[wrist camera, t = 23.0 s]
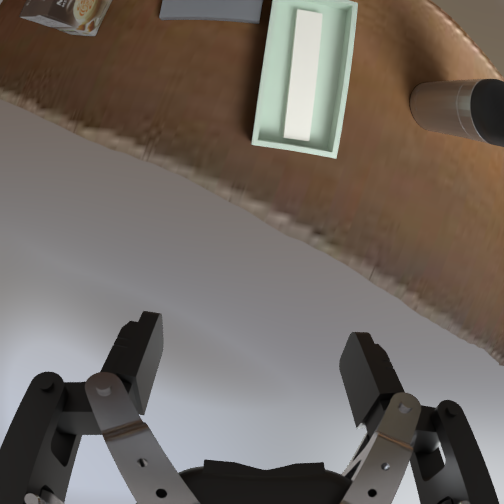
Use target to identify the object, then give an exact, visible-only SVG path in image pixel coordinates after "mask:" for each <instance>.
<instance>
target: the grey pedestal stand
mask: <svg viewBox="0 0 504 504" xmlns="http://www.w3.org/2000/svg"><path fill="white" fill-rule="evenodd" d="M262 2H263V0H163V2H162V6H161V11H160V16H159V18H160V19H161V20H220V21H234V22H245V23H255V24H259V21H260V15H261V8H262Z"/></svg>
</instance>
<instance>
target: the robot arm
mask: <svg viewBox="0 0 504 504" xmlns="http://www.w3.org/2000/svg"><path fill="white" fill-rule="evenodd" d="M410 108H411V112H412V115H413V117H414V119H415V121H416V122H417V123H418V124H419V125H420V126H421V127H422V128H424V129H426V130H428V131H433V132H439V133H444V134H449V135H454V136H459V137H463V138H468V139H472V140H477V141H481V142H485V143H489V144H493V145H497V146H502V147H504V82H503V81H500V80H497V79H473V80H452V81H438V82H427V83H422V84H419V85H418V86H416V87H415V89H414V90H413V92H412V94H411V98H410ZM162 352H163V325H162V315H161V314H160V313H153V312H148V311H144V312H143V313H142V315H141V317H140V319H139V321H138V322H134V321H130V322H129V323H127V324H126V325H125V326H124V327H122V329H121V331H120V333H119V335H118V337H117V339H116V341H115V343H114V346H113V347H112V349H111V351H110V353H109V355H108V357H107V359H106V361H105V363H104V365H103V367H102V370H101V371H100V372H99V373H96V374H94V375H92V376H91V377H90V378H88V380H87V381H86V382H67V383H66V382H63V379H62V378H61V377H60V376H59V375H58V374H56V373H54V372H44V373H41V374H38V375H37V376H35V377H34V379H33V380H32V381H31V384H30V385H29V387H28V389H27V391H26V393H25V395H24V397H23V399H22V401H21V403H20V405H19V407H18V410H17V412H16V414H15V416H14V418H13V420H12V423H11V425H10V427H9V429H8V432H7V434H6V436H5V439H4V441H3V444H2V446H1V448H0V504H64V501H65V496H66V492H67V488H68V484H69V480H70V476H71V472H72V468H73V465H74V461H75V457H76V454H77V450H78V447H79V444H80V440H81V437H82V435H103V437H104V440H105V442H106V444H107V446H108V449H109V451H110V453H111V455H112V457H113V459H114V461H115V463H116V465H117V467H118V469H119V471H120V473H121V475H122V476H123V478H124V480H125V482H126V484H127V486H128V488H129V489H130V491H131V493H132V495H133V496H134V498H135V500H136V501H137V503H136V504H391V503H392V501H393V499H394V496H395V494H396V492H397V490H398V487H399V485H400V483H401V480H402V478H403V476H404V473H405V471H406V468H407V466H408V463H409V460H410V463H411V467H412V470H413V474H414V478H415V482H416V486H417V490H418V494H419V498H420V503H421V504H499V502H498V498H497V495H496V492H495V489H494V486H493V484H492V481H491V478H490V475H489V472H488V469H487V467H486V464H485V461H484V459H483V456H482V454H481V451H480V449H479V446H478V444H477V441H476V439H475V437H474V435H473V432H472V430H471V428H470V425H469V423H468V421H467V419H466V416H465V414H464V412H463V410H462V408H461V407H460V406H459V405H458V404H457V403H455V402H454V401H451V400H444V401H442V402H441V403H440V404H439V405H438V406H437V407H436V408H433V407H428V406H422V405H420V403H419V401H418V399H417V398H416V397H414V396H413V395H411V394H409V393H405V392H404V390H403V387H402V385H401V383H400V381H399V379H398V376H397V374H396V372H395V370H394V369H393V366H392V364H391V362H390V359H389V357H388V355H387V353H386V352H385V350H384V349H383V348H382V347H380V346H379V344H374V341H373V339H372V337H371V335H370V334H369V333H367V332H352V333H351V334H350V336H349V338H348V341H347V343H346V346H345V348H344V351H343V353H342V355H341V358H340V365H339V367H340V372H341V376H342V379H343V383H344V386H345V389H346V393H347V396H348V399H349V403H350V406H351V410H352V413H353V417H354V421H355V424H356V428H366V429H367V433H366V435H365V436H364V438H363V440H362V442H361V444H360V445H359V447H358V449H357V451H356V453H355V454H354V456H353V458H352V460H351V461H350V463H349V465H348V466H347V468H346V469H345V470H344V472H343V473H342V474H338V473H335V472H333V471H329V470H325V468H324V463H323V462H321V463H300V464H292V465H289V466H285V467H280V468H275V469H271V470H262V469H257V468H254V467H250V466H246V465H242V464H239V463H235V462H224V461H214V460H204V466H203V467H195V468H190V469H187V470H184V471H182V472H179V473H178V472H177V471H176V470H175V468H174V466H173V465H172V463H171V462H170V461H169V459H168V457H166V454H165V453H164V451H163V450H162V448H161V446H160V445H159V443H158V442H157V440H156V438H155V437H154V435H153V434H152V432H151V430H150V429H149V427H148V425H147V424H146V423H144V422H143V421H142V420H141V418H140V416H139V414H140V415H144V414H145V410H146V407H147V403H148V400H149V396H150V393H151V389H152V386H153V382H154V379H155V376H156V372H157V369H158V366H159V362H160V359H161V356H162ZM439 445H441V447H442V449H443V452H444V455H445V458H446V463H445V465H444V462H443V459H442V456H441V454H440V450H439Z"/></svg>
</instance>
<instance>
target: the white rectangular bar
mask: <svg viewBox="0 0 504 504" xmlns="http://www.w3.org/2000/svg"><path fill="white" fill-rule="evenodd" d="M322 16H323V14H321V13H316V12H311V11H305V10H299V9H297V11H296V17H295V27H294V37H293V47H292V57H291V66H290V76H289V85H288V94H287V103H286V112H285V121H284V129H283V138H288V139H296V140H303V141H309V139H310V131H311V123H312V115H313V106H314V98H315V89H316V80H317V70H318V60H319V50H320V39H321V28H322Z"/></svg>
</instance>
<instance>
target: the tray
mask: <svg viewBox="0 0 504 504" xmlns="http://www.w3.org/2000/svg"><path fill="white" fill-rule="evenodd" d="M357 7H358V3H356V2H353V1H349V0H272V5H271V12H270V18H269V25H268V31H267V38H266V44H265V51H264V58H263V65H262V71H261V78H260V85H259V92H258V99H257V106H256V113H255V121H254V128H253V135H252V142H251V143H252V145H257V146H264V147H272V148H278V149H285V150H291V151H297V152H303V153H309V154H315V155H320V156H326V157H331V158H337V152H338V147H339V141H340V136H341V130H342V124H343V118H344V111H345V105H346V99H347V92H348V85H349V78H350V70H351V63H352V55H353V46H354V38H355V28H356V18H357ZM297 9H299V10H305V11H311V12H316V13H321V14H323V16H322V28H321V39H320V50H319V60H318V70H317V80H316V89H315V98H314V106H313V115H312V123H311V131H310V139H309V141H303V140H296V139H288V138H283V129H284V121H285V112H286V103H287V94H288V85H289V76H290V66H291V57H292V47H293V37H294V27H295V17H296V11H297Z"/></svg>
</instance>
